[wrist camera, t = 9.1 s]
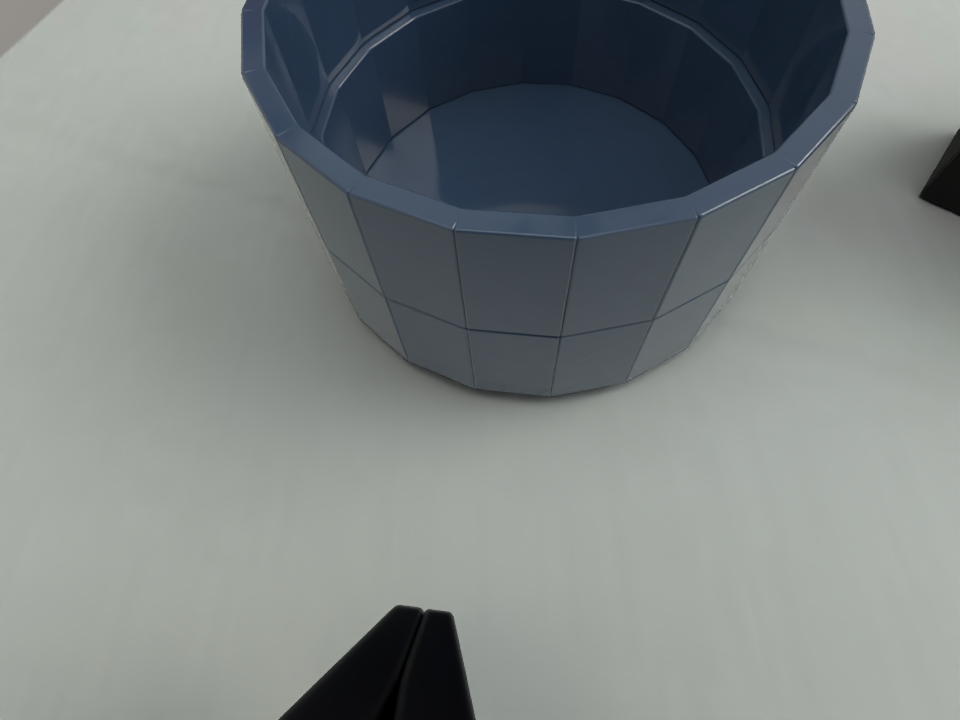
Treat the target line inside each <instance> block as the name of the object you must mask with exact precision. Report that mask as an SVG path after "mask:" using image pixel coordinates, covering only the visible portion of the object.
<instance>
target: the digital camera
mask: <svg viewBox="0 0 960 720" xmlns="http://www.w3.org/2000/svg"><path fill="white" fill-rule="evenodd" d="M920 197H922V198H925V199H927V200H929V201H931V202H934V203H936V204H938V205H940V206H943V207H945V208H947V209H949V210H952V211H954V212H956V213H958V214H960V129H959V130H958V131H957V134H956V135H955V137H954V139H953V140H952V142H951V144H950V145H949V147H948V149H947V150H946V152H945V154H944V155H943V157H942V159H941V160H940V162H939V164H938V165H937V167H936V169H935V170H934V172H933V174H932V175H931V177H930V179H929V180H928V182H927V184H926V185H925V187H924V189H923V190H922V192H921V194H920Z"/></svg>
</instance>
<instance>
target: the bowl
mask: <svg viewBox="0 0 960 720" xmlns="http://www.w3.org/2000/svg"><path fill="white" fill-rule="evenodd" d="M874 35H875V32H874V28H873V24H872V20H871V16H870V13H869V9H868V5H867V1H866V0H246V2H245V4H244V6H243V9H242V13H241V73H242V78H243V80H244V82H245V84H246V86H247V89H248V91H249V93H250V95H251V97H252V99H253V101H254V103H255V105H256V107H257V110H258V112H259V114H260V116H261V118H262V120H263V122H264V124H265V126H266V128H267V131H268V133H269V135H270V137H271V139H272V141H273V143H274V145H275V147H276V149H277V151H278V154H279V156H280V158H281V160H282V162H283V164H284V166H285V168H286V170H287V172H288V175H289V177H290V179H291V181H292V183H293V185H294V187H295V189H296V191H297V193H298V195H299V198H300V200H301V202H302V204H303V206H304V208H305V210H306V212H307V214H308V216H309V219H310V221H311V223H312V225H313V227H314V229H315V231H316V233H317V235H318V237H319V240H320V242H321V244H322V246H323V248H324V250H325V252H326V254H327V256H328V258H329V261H330V263H331V265H332V267H333V269H334V271H335V273H336V275H337V277H338V278H339V280H340V282H341V284H342V286H343V288H344V290H345V292H346V294H347V296H348V297H349V299H350V301H351V303H352V305H353V307H354V309H355V311H356V313H357V315H358V316H359V317H360V319H361V320H362V321H363V322H364V323H365V324H366V325H367V326H368V327H370V328H371V329H372V330H373V331H374V332H375V333H376V334H378V335H379V336H380V337H381V338H382V339H383V340H384V341H385V342H387V343H388V344H389V345H390V346H391V347H392V348H393V349H395V350H396V351H397V352H398V353H399V354H400V355H401V356H403V357H404V358H405V359H406V360H407V361H410V362H412V363H414V364H416V365H419V366H421V367H423V368H426V369H428V370H431V371H433V372H435V373H438V374H440V375H443V376H445V377H447V378H450V379H452V380H455V381H457V382H459V383H462V384H464V385H466V386H469V387H471V388H476V389H480V390H490V391H500V392H510V393H520V394H530V395H540V396H551V397H553V396H558V395H563V394H568V393H573V392H578V391H584V390H589V389H594V388H599V387H604V386H609V385H615V384H620V383H624V382H627V381H629V380H630V379H632V378H634V377H636V376H638V375H640V374H641V373H643V372H645V371H647V370H649V369H650V368H652V367H654V366H656V365H658V364H660V363H661V362H663V361H665V360H667V359H669V358H671V357H672V356H674V355H676V354H678V353H680V352H681V351H683V350H685V349H686V348H688V347H689V346H690V345H691V344H692V342H693V341H694V340H695V339H696V338H697V337H698V336H699V334H700V333H701V332H702V331H703V330H704V329H705V327H706V326H707V325H708V324H709V323H710V322H711V321H712V319H713V318H714V317H715V316H716V315H717V314H718V313H719V311H720V310H721V309H722V308H723V307H724V306H725V305H726V303H727V302H728V301H729V299H730V298H731V296H732V295H733V293H734V292H735V290H736V289H737V287H738V286H739V284H740V283H741V281H742V280H743V278H744V277H745V275H746V273H747V272H748V270H749V269H750V267H751V266H752V264H753V263H754V261H755V260H756V258H757V257H758V255H759V254H760V252H761V250H762V249H763V247H764V246H765V244H766V243H767V241H768V240H769V238H770V237H771V235H772V234H773V232H774V231H775V229H776V228H777V226H778V224H779V223H780V221H781V220H782V218H783V217H784V215H785V214H786V212H787V211H788V209H789V207H790V206H791V204H792V203H793V201H794V200H795V198H796V197H797V195H798V194H799V192H800V191H801V189H802V188H803V186H804V185H805V183H806V181H807V180H808V178H809V177H810V175H811V174H812V172H813V171H814V169H815V168H816V166H817V165H818V163H819V162H820V160H821V158H822V157H823V155H824V154H825V152H826V151H827V149H828V148H829V146H830V145H831V143H832V142H833V140H834V139H835V137H836V136H837V134H838V132H839V131H840V129H841V128H842V126H843V125H844V123H845V122H846V120H847V119H848V117H849V116H850V114H851V113H852V111H853V109H854V108H855V106H856V104H857V102H858V98H859V94H860V90H861V87H862V83H863V79H864V76H865V72H866V68H867V65H868V61H869V57H870V53H871V50H872V46H873V42H874V38H875V36H874Z"/></svg>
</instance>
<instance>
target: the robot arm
mask: <svg viewBox="0 0 960 720" xmlns="http://www.w3.org/2000/svg"><path fill="white" fill-rule="evenodd" d="M278 720H476V719H475V714H474V710H473V705H472V700H471V696H470V691H469V686H468V682H467V677H466V672H465V667H464V663H463V658H462V653H461V649H460V644H459V639H458V635H457V630H456V625H455V620H454V616H453V615H452V613H451V612H446V611H439V610H432V609H428V610H426V611H425V612H424V611H423V610H422V609H421V608H418V607H411V606H403V605H397V606H395V607H394V608H393V609H392V610H391V611H389V612H388V613H387V614H386V615H385V616H384V617H383V618H382V619H381V620H380V621H379V622H378V623H377V624H376V625H375V626H374V627H373V628H372V629H371V630H370V631H369V632H368V633H367V634H366V635H365V636H364V637H363V638H362V639H361V640H360V641H359V642H358V643H357V644H356V645H355V646H353V647H352V648H351V649H350V650H349V651H348V652H347V653H346V654H345V655H344V656H343V657H342V658H341V659H340V660H339V661H338V662H337V663H336V664H335V665H334V666H333V667H332V668H331V669H330V670H329V671H328V672H327V673H326V674H325V675H324V676H323V677H322V678H321V679H320V680H319V681H317V682H316V683H315V684H314V685H313V686H312V687H311V688H310V689H309V690H308V691H307V692H306V693H305V694H304V695H303V696H302V697H301V698H300V699H299V700H298V701H297V702H296V703H295V704H294V705H293V706H292V707H291V708H290V709H289V710H288V711H287V712H286V713H285V714H284V715H283V716H281V717H280V718H279V719H278Z"/></svg>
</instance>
